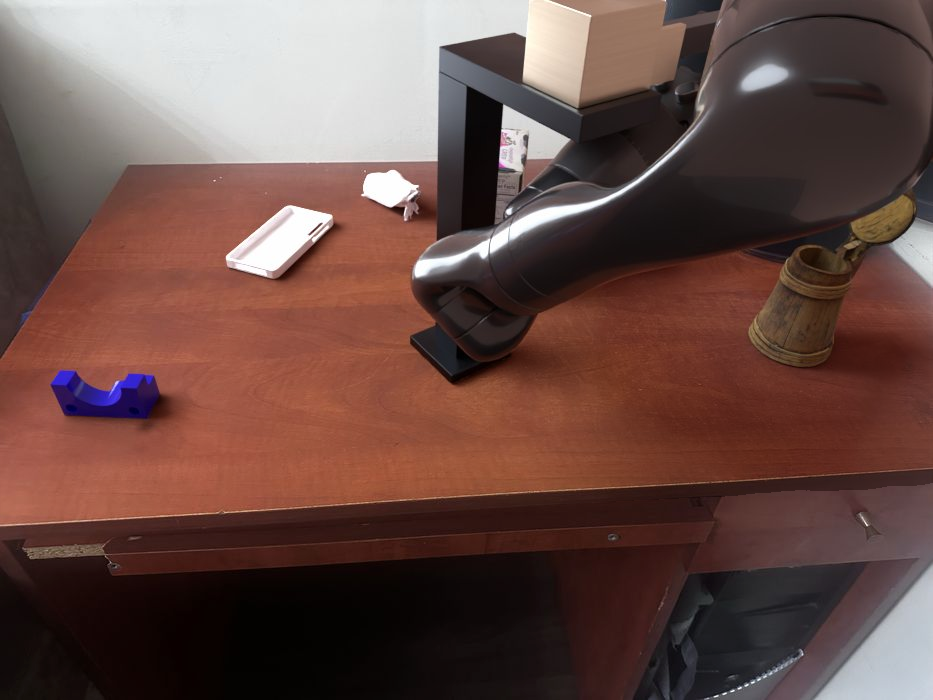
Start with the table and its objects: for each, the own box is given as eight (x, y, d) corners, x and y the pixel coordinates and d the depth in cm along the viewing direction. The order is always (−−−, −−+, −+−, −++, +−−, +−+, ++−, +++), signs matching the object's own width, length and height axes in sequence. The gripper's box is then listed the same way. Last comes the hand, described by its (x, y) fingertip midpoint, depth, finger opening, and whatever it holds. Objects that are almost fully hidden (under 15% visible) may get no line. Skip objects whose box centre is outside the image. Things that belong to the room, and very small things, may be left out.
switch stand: (519, 449, 67) (573, 25, 43) (409, 343, 79) (403, -39, 54) (615, 396, 73) (710, -1, 49) (501, 305, 85) (532, -54, 60)
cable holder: (160, 393, 71) (150, 363, 68) (147, 418, 68) (136, 388, 66) (80, 390, 71) (67, 360, 68) (64, 415, 68) (50, 384, 66)
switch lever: (649, 72, 53) (657, 33, 51) (620, 60, 55) (626, 22, 53) (801, 34, 62) (812, -1, 61) (772, 25, 64) (782, -9, 62)
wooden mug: (876, 347, 81) (951, 207, 70) (785, 375, 77) (849, 230, 65) (819, 304, 88) (879, 169, 76) (732, 327, 83) (782, 187, 72)
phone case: (288, 212, 100) (225, 267, 89) (287, 204, 99) (223, 257, 88) (335, 223, 98) (276, 280, 87) (334, 215, 97) (274, 271, 86)
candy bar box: (482, 243, 95) (489, 125, 85) (519, 247, 95) (531, 129, 84) (473, 290, 87) (479, 166, 76) (513, 294, 86) (525, 170, 76)
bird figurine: (428, 215, 103) (378, 179, 106) (431, 180, 98) (379, 143, 100) (405, 232, 101) (355, 195, 104) (407, 199, 95) (354, 160, 98)
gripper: (674, 161, 51) (823, 15, 53) (544, 98, 60) (675, -26, 61) (687, 225, 57) (820, 92, 59) (567, 160, 66) (686, 45, 67)
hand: (746, 32), depth 60 cm, fingers open, 8 cm apart
